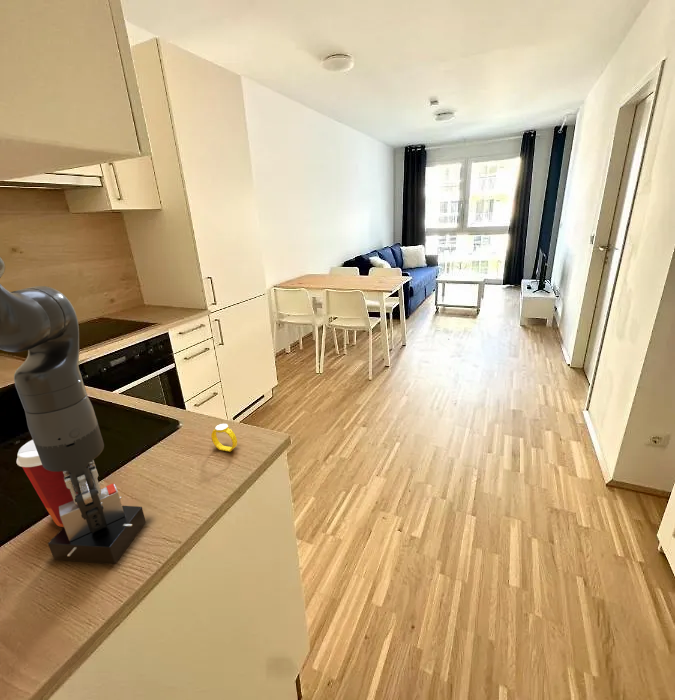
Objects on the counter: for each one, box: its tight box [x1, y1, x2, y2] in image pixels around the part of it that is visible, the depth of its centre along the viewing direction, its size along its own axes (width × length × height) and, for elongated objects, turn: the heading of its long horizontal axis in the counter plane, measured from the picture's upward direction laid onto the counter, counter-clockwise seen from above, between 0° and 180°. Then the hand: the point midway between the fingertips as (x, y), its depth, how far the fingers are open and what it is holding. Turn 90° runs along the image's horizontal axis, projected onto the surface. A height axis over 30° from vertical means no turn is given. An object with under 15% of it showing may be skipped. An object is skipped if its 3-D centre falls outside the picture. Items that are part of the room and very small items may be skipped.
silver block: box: [59, 483, 125, 541], centre depth 56 cm, size 8×3×5 cm, turn 130°
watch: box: [210, 423, 238, 452], centre depth 80 cm, size 6×3×6 cm, turn 69°
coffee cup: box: [16, 439, 78, 528], centre depth 61 cm, size 8×8×15 cm
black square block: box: [47, 495, 147, 565], centre depth 58 cm, size 12×12×4 cm
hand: (97, 521), depth 57 cm, fingers closed on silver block, 2 cm apart
